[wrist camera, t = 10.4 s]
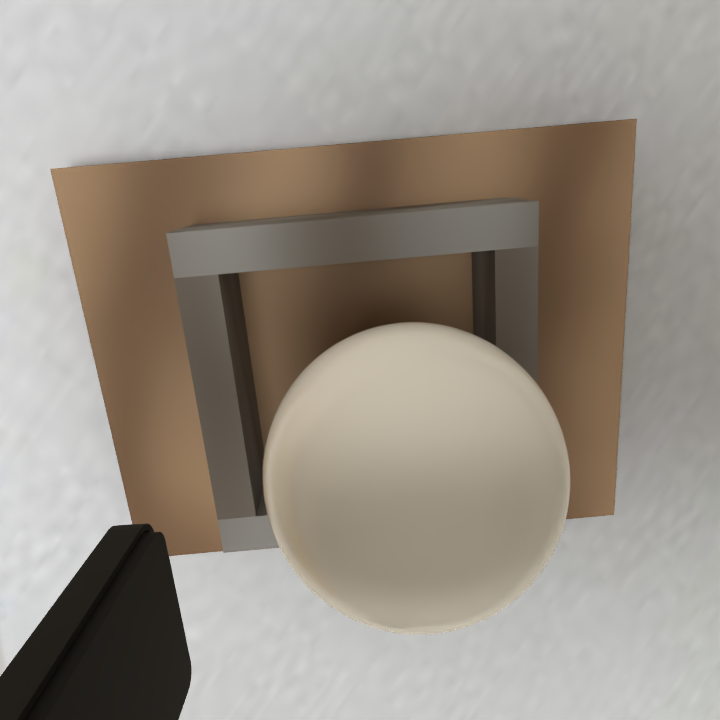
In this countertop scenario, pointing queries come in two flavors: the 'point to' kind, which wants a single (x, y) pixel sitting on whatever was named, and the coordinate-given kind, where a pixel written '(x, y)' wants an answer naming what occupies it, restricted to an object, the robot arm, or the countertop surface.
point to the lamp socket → (341, 294)
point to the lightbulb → (416, 478)
